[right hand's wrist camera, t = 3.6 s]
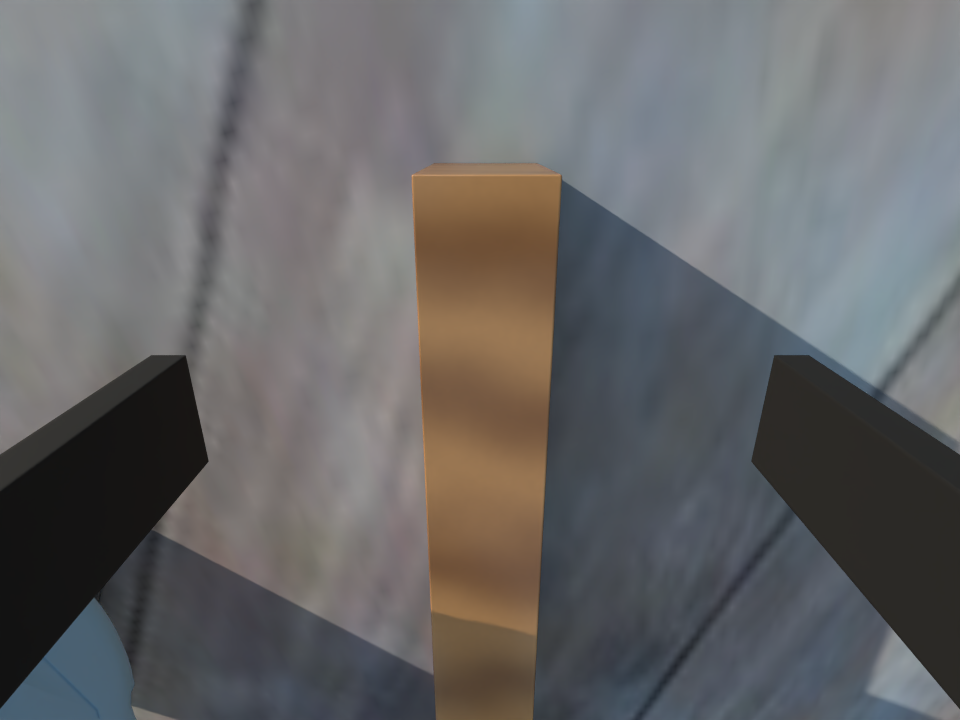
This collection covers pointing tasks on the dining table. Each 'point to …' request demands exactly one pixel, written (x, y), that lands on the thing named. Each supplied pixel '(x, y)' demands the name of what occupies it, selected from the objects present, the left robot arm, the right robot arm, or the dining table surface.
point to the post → (485, 422)
